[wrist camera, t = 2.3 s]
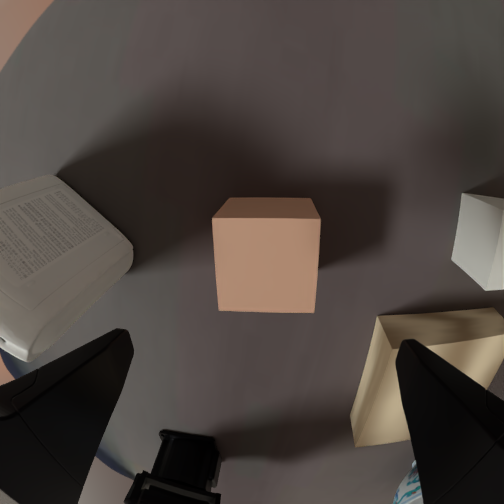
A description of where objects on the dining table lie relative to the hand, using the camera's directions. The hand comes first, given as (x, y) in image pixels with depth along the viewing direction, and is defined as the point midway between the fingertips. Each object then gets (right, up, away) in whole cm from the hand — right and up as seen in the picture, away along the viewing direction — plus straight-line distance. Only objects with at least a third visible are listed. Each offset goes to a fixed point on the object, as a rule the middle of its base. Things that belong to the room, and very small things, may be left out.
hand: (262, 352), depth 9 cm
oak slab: (+15, -7, +13) cm, 21 cm away
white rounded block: (-13, +5, +11) cm, 18 cm away
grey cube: (+17, +5, +8) cm, 19 cm away
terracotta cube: (+1, +4, +10) cm, 11 cm away
